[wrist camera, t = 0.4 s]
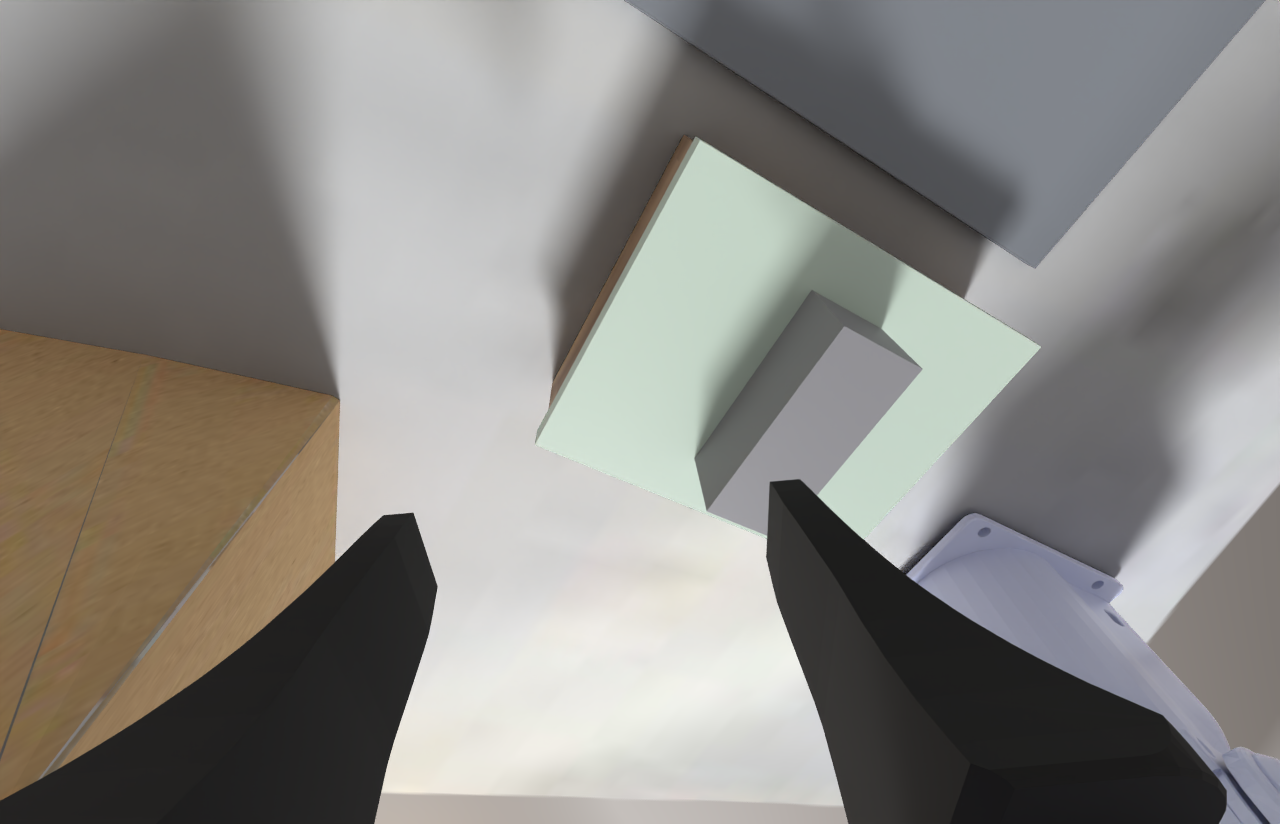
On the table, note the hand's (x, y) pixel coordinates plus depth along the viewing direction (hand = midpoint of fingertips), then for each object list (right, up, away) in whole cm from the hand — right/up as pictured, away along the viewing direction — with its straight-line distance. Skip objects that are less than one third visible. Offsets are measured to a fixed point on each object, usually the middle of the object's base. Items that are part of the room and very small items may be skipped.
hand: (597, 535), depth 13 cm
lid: (+5, +4, +6) cm, 9 cm away
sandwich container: (-18, +1, +10) cm, 20 cm away
